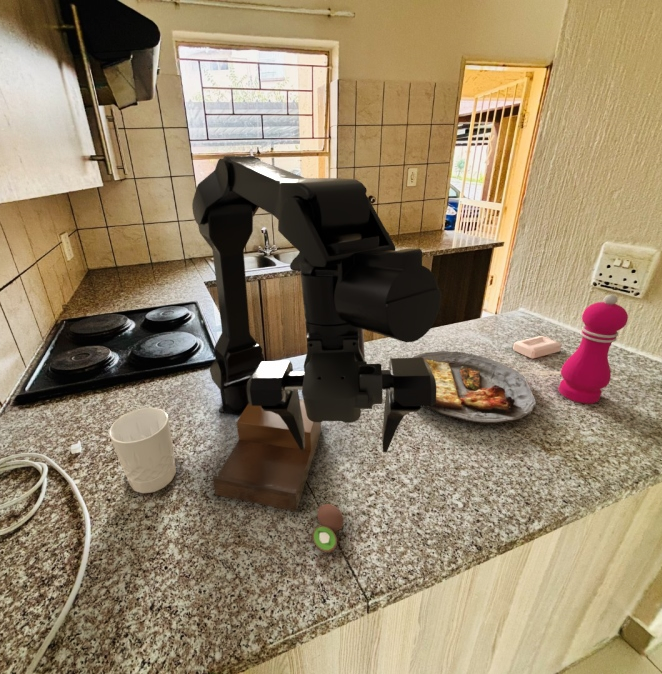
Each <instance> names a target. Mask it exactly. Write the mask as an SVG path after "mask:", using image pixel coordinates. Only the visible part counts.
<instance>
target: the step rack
mask: <svg viewBox="0 0 662 674" xmlns="http://www.w3.org/2000/svg"><path fill="white" fill-rule="evenodd" d="M299 400H300V406H301V412H302V418H303V424H304V431H305V448H304V450H301V449H300V448H299V446H298V444H297V443H296V441H295V439H294V437H293V436H292V434H291V432H290V430H289V429H288V427H287V425H286V424H285V422H284V421H283V420H282V418H281V417H280V416H279V415H278V414H276V413H273V412H271V411H264V410H263V409H262V407H261V406H252V405H251V404H249V403H248V405H247V407H246V408H245V410H244V411H243V413H242V414H241V416H240V415H239V417H238V419H237V421H236V428H237V437H238V440H237V442H236V444H235V445H234V446H233V448H232V450H231V451H230V453H229V455H228V457H227V458H226V460H225V462H224V464H223V465H222V467H221V469H220V470H219V472H218V474H214V475H213V477H212V481H213V487H214V488H213V489H214V492H215V495H216V496H220V497H225V498H230V499H234V500H239V501H244V502H249V503H254V504H258V505H264V506H268V507H273V508H278V509H283V510H286V511H287V510H288V511H292V512H297V511H298V510H299V509H298V508H299V505H300V501H301V498H302V495H303V492H304V489H305V485H306V482H307V479H308V476H309V472H310V469H311V466H312V462H313V458H314V455H315V453H316V449H317V445H318V442H319V440H320V436H321V433H322V422H312V421H310V420H309V419H308V417H307V414H306V409H305V405H304V400H303V399H299Z"/></svg>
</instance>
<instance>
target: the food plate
mask: <svg viewBox="0 0 662 674" xmlns="http://www.w3.org/2000/svg"><path fill="white" fill-rule="evenodd" d="M409 358H424V359H425V360H426V361H427V362H428V363H429V366H430V368H431V370H432V373H433V375H434V378H435V380H436V404H434V405H432V406H423V408H425V409H428V410H430V411H432V412H434V413H436V414H438V415H441V416H445V417H449V418H453V419H457V420H461V421H467V422H472V423H476V424H479V425H480V424H481V425H482V424H483V425H497V424H503V423H510V422H520V421H521V420H525V419H526V418H527V417H529V416H530V415H531V414H532V411H533V412H534V411H535V409H536V405H537V402H536V399H535V397H534V395H533V392H532V390H531V388H530V386H529V383H528V382H527V380H526V378H525V376H524V375H523V374H522V373H520V372H519V371H518V370H515V369H514V368H511V366H507V365H505V364H502V363H501V362H499V361H497V360H494V359H492V358H490V357H486V356H483V355H477V354H475V353H474V354H473V353H472V352H471V353H468V352H463V351H449V350H438V351H436V350H435V351H426V352H421V353H418V354H414V355H412V356H411V357H409Z"/></svg>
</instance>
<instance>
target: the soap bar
mask: <svg viewBox="0 0 662 674" xmlns="http://www.w3.org/2000/svg"><path fill="white" fill-rule="evenodd" d="M562 345H563V344H562V343H561V342H560V341H557V340H555V339H552V338H549V337H547V336H545V335H539V336H534V337H530V338H527V339H522V340H518V341H515V342H514V343H513V347H512V350H513V351H514V352H516V353H519V354H521V355H523V356H525V357H526V358H529V359H531V360H532V359H537V358H541V357H544V356H547V355H551V354H556V353H559V352H561V349H562Z"/></svg>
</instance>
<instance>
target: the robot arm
mask: <svg viewBox="0 0 662 674" xmlns="http://www.w3.org/2000/svg"><path fill="white" fill-rule="evenodd" d="M367 192H368V190H367V187H366V186H365V185H364V183H362V182H361V181H360V180H358V179H355V178H338V177H337V178H336V177H316V178H315V177H303V176H300V175H298V174H296V173H294V172H291V171H288V170H285V169H283V168H281V167H278V166H275V165H273V164H270V163H268V162H265V161H263V160H261V159H260V158H259V157H256V156H255V155H225V156H224V157H222V158H219V159H218V160H217V163H216V166H215V168H214V170H213V171H212V172H210V174H208V175H207V176H206V177H205V178H204V179H203V180H201V181H200V182H199V183H198V184H197V185H196V189H195V191H194V195H193V199H192V205H191V207H192V213H193V214H192V215H193V218H194V221H195V223H196V224H197V228H198V232H199V234H200V235H201V237H202V238H203V239H204V240H205V242H206V243H207V244H208V246H209V247H210V248H211V250H212V258H213V267H214V275H215V283H216V293H217V300H218V307H219V308H218V310H219V316H220V317H219V318H220V326H221V334H220V336H219V338H218V339H217V341H216V343H215V346H214V357H215V359H214V360H213V361H212V364H211V365H210V368H209V372H210V373H209V374H210V377H211V380H212V382H213V383H214V384H215V386H216V387H217V388H218V389H219V392H220V393H219V394H220V398H221V406H220V407H219V408H218V412H219V413H220V414H228V415H233V416H234V415H235V416H239V417H240V416H241V414H242V413H243V411H244V410H245V408H246V407H247V405H248V403H249V404H251V405H252V406H261V407H262V409H263V410H264V411H271V412H273V413H276V414H278V415H279V416H280V417H281V418H282V420H283V421H284V422H285V424H286V425H287V427H288V429H289V430H290V432H291V434H292V436H293V437H294V439H295V441H296V443H297V444H298V446H299V448H300V449H301V450H304V448H305V431H304V424H303V418H302V412H301V406H300V400H301V399H300V394H299V391H300V390H301V395H302V400H304V405H305V409H306V414H307V417H308V419H309V420H310V421H312V422H321V423H322V422H342V423H344V424H350V423H351V424H352V423H355V422H356V421H358V420H359V419H360V418H361V416H362V410H372V409H373V405H382V404H383V403H384V409H383V419H382V420H383V421H382V430H381V431H382V432H381V440H382V441H381V442H382V452H383V453H387V452H388V451H389V448H390V445H391V444H392V441H393V439H394V436H395V434H396V431H397V429H398V428H399V425H400V424H401V422H402V421H403V419H404V417H405V416H406V415H408V414H411V413H417V412H420V411H421V409H422V407H424V406H432V405H434V404H436V380H435V378H434V375H433V373H432V370H431V368H430V366H429V363H428V362H427V361H426V360H425V359H424V358H410V357H391V358H389V365H388V367H389V368H388V369H382V364H381V363H368V361H366V359H365V358H366V357H365V335H364V330H365V331H368V332H371V333H374V334H377V335H380V336H384V337H387V338H389V339H394V340H396V341H400V342H404V343H415V342H416V341H418V340H420V339H422V338H423V337H425V335H426V334H427V333H428V332H429V331H430V330H431V329H432V327H433V326H434V324H435V322H436V320H437V317H438V315H439V312H440V308H441V304H442V303H441V302H442V290H441V288H439V285H438V280H437V278H436V276H435V274H434V273H433V272H432V270H431V269H429V268H428V267H426V266H425V265H423V251H422V249H421V248H404V249H398V250H396V245H395V244H394V242H393V240H392V238H391V237H390V233H389V231H387V229H386V227H385V225H384V224H383V222H382V220H381V218H380V217H379V215H378V212H377V211H376V209H375V207H374V205H373V204H372V202H371V200H370V198H369V197H368V196H367ZM259 208H260V209H261V210H263V211H265V212H266V213H268V214H270V215H272V217H273V216H274V217H275V218H276V220H277V222H278V223H277V225H278V227H277V232H279V233H280V234H281V236H283V238H284V239H286V241H288V242H289V243H290V244H291V246H293V248H295V249H296V250H297V251H298V254H297V255H296V256H295V257H294V258H293V259H292V261H291V262H290V264H289V267H290V270H291V271H295V272H299V273H300V282H301V291H302V302H303V303H302V304H303V314H304V324H305V333H306V334H305V335H306V351H307V352H306V355H305V359H304V363H303V371H294V367H293V363H292V362H291V360H266V361H265V358H264V353H263V348H262V346H261V345H260V344H259V343H258V342H257V341H256V339H255V338H254V337H253V336H252V334H251V329H250V316H249V314H250V313H249V304H248V303H249V302H248V290H247V278H246V276H247V275H246V266H245V265H246V264H245V248H246V246H247V245H248V243H249V240H250V238H251V237H252V234H253V232H254V216H255V215H256V213H257V212H258V210H259ZM383 390H385V399H384V397H383V395H384V393H383ZM383 400H384V402H383Z"/></svg>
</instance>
